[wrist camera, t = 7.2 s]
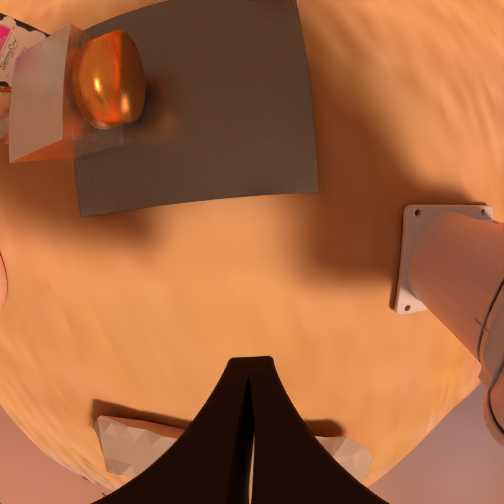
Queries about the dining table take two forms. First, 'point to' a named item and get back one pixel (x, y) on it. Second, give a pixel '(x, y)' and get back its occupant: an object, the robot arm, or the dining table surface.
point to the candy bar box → (14, 46)
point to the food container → (162, 436)
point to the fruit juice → (2, 283)
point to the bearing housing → (179, 107)
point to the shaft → (104, 83)
